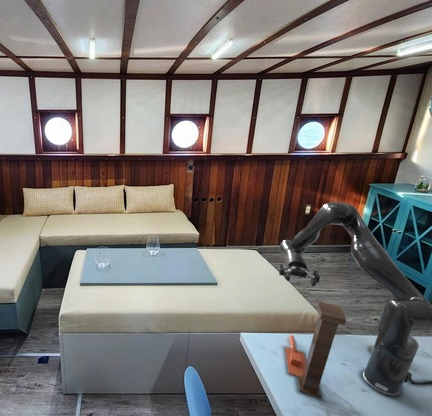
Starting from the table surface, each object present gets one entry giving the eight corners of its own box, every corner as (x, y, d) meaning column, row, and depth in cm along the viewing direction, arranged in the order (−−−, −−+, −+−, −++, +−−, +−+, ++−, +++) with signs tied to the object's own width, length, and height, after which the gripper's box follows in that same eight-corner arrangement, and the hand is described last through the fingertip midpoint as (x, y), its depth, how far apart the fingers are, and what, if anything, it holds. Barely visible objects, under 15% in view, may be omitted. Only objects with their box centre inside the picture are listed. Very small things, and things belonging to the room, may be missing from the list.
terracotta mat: (285, 348, 113) (285, 347, 113) (303, 353, 110) (303, 352, 110) (288, 373, 102) (288, 372, 102) (308, 380, 99) (308, 379, 99)
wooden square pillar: (296, 376, 101) (317, 301, 91) (317, 383, 98) (340, 306, 88) (299, 392, 95) (321, 313, 85) (320, 399, 93) (346, 319, 83)
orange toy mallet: (286, 336, 118) (287, 331, 118) (295, 338, 117) (296, 333, 116) (290, 364, 105) (291, 358, 104) (300, 367, 104) (301, 361, 103)
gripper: (279, 253, 130) (282, 269, 116) (316, 259, 125) (324, 277, 111) (276, 267, 133) (279, 285, 119) (312, 274, 127) (320, 294, 113)
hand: (300, 281), depth 115 cm, fingers open, 8 cm apart
